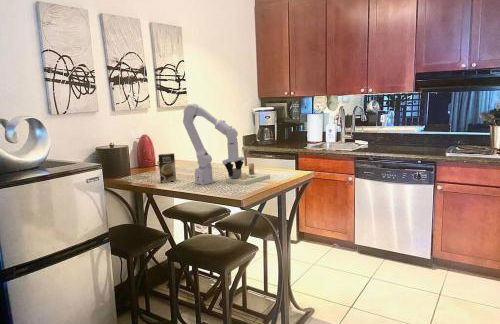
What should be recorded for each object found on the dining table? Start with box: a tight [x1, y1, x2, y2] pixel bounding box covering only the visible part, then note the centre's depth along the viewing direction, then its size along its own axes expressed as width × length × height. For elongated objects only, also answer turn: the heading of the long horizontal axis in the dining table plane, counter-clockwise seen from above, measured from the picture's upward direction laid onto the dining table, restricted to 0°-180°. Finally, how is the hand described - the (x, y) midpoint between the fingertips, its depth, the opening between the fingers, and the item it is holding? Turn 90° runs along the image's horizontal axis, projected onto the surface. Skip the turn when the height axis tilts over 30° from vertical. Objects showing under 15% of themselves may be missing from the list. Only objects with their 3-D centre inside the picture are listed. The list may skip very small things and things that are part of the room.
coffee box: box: [158, 153, 177, 183], centre depth 219 cm, size 9×6×16 cm
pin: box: [248, 163, 255, 175], centre depth 216 cm, size 3×3×6 cm
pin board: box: [225, 172, 271, 186], centre depth 210 cm, size 20×15×5 cm
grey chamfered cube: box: [227, 167, 243, 178], centre depth 208 cm, size 5×5×4 cm
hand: (234, 175), depth 208 cm, fingers closed on grey chamfered cube, 5 cm apart
